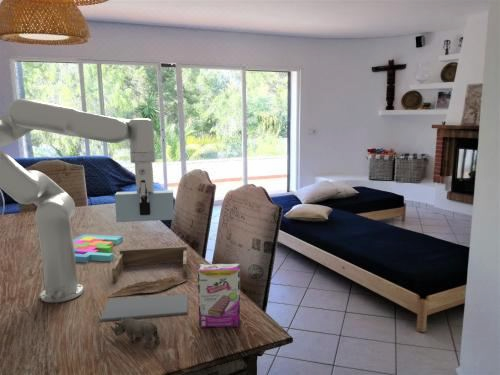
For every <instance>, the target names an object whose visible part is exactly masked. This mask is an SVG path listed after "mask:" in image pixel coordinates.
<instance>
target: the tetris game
mask: <svg viewBox="0 0 500 375" xmlns="http://www.w3.org/2000/svg"><path fill="white" fill-rule="evenodd" d="M73 241H74V250H75V261H76V263H88V262H90V261H100V262H103V261H104V262H111V261H113V260H114V258H115V254H114V253H113V248H114V246H115V245H116V246H117V245H119V244H121V243H122V242H124V238H123V235H104V234H103V235H102V234H87V233H86V234H85V233H84V234H82V235H80V236H78V237H76V238H73Z"/></svg>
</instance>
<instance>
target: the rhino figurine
mask: <svg viewBox="0 0 500 375" xmlns="http://www.w3.org/2000/svg"><path fill="white" fill-rule="evenodd" d="M114 324H115V325H114V327H113V326H112V325H110V329H111V330H112V331H113V333H114V335H115V337H118V336H121V335H123V334H126V335H127V337H128V338H129V340H128V341H127V344H128V343H129V345H130V344H131V345H132V344H134V339H135V341H136V340H137V341H138V340H140V339H141V338H143V337H144V338H145V339H146V343H144V347H145V348H149V347H151V346H152V342H153V338H154V339H155V341H154V344H155V345H158V344H161V340H160V335H159V331H158V326H157V324H156V323H155V321H152V320H151V321H150V320H138V319H136V318H127V319H122V318H120V319H119V321H118V322H117V321H114ZM134 336H135V338H134Z"/></svg>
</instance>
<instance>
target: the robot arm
mask: <svg viewBox="0 0 500 375" xmlns="http://www.w3.org/2000/svg"><path fill="white" fill-rule="evenodd" d="M34 130H35V131H41V132H47V133H53V134H58V135H63V136H67V137H74V138H81V139H86V140H93V141H97V142H103V143H108V144H109V143H110V144H119V143H121V142H124V141H129V153H130V163H132V164H134V174H135V186H136V191H137V193H138V194H139V193H140V194H139V195H140V203H139V206H140V215H150V202H149V192H151V193H153V191H155V190H154V188H155V187H154V171H153V170H154V169H153V163H155V162H156V157H155V156H156V155H155V154H156V152H155V133H154V132H155V131H154V121H153V120H152V119H151V118H146V117H145V118H131V119H127V118H120V117H111V116H107V115H106V116H105V115H101V114H95V113H90V112H85V111H82V110H80V109H79V110H78V109H76V108H74V107H72V106H71V107H70V106H65V105H60V104H54V103H50V102H44V101H39V100H34V99H30V98H18V99H17V98H16V99H15V100H13V101H12V102H10V104H9V106H8V108H7V112H5V113H2V114H1V115H0V190H2V191H3V192H4V193H6V194H7V195H8V196H9V197H11V198H12V199H13V200H14V201H15V202H17V203H19V204H20V205H21V204H22V205H30V204H34V205H35V206H37V208H36V211H35V215H34V220H35V227H36V229H37V234H38V239H39V240H38V241H39V246H40V254H41V255H40V256H41V266H42V274H43V283H44V290H42V291H41V293H40V295H39V298H40V300H41V301H42V302H45V303H63V302H66V301H67V302H68V301H71V300H73V299H75V298H77V297H79V296H81V295H82V294H83V292H84V285H82V284H80V283H79V282H78V273H77V262H76V261H75V250H74V241H73V240H74V234H73V229H72V223H71V218H72V216H73V215H74V214H75V211H76V203H75V200H74V199H73V197H72V196H71V195H70V194H69V193H68V192H67V191H66V190H64V189H63V188H62V187H61V186H59V185H58V183H56V182H55V181H54V180H53V179H52V178H50V177H49V176H48V175H47V174H45V173H43V172H41V171H39V170H35V169H26V168H24V167H23V166H22V165H21V164H19V162H17V160H16V159H15V158H13V156H10V155H9V154H8V153H6V152H5V151H4V150H2V147H6V146H8V145H10V144H12V143H13V142H16V141H18V140H20V138H22V137H25V136H26V135H27V134H29V133H31V132H32V131H34ZM146 191H147V193H145V192H146ZM146 195H147V196H146Z"/></svg>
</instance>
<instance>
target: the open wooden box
mask: <svg viewBox="0 0 500 375" xmlns="http://www.w3.org/2000/svg"><path fill="white" fill-rule="evenodd" d="M169 263H182V271H183V275H182V276H183V278H188V245H175V246H162V247H161V246H160V247H159V246H158V247H157V246H155V247H140V248H123V249H119V254H118V257H117V258H116V259H115V262H114V264H113V266H112V267H111V274H112V283H117V282H118V280H119V278H120V275H121V273H122V271H123V269H124V267H125V266H137V265H139V266H141V265H152V264H153V265H154V264H155V265H156V264H169Z"/></svg>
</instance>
